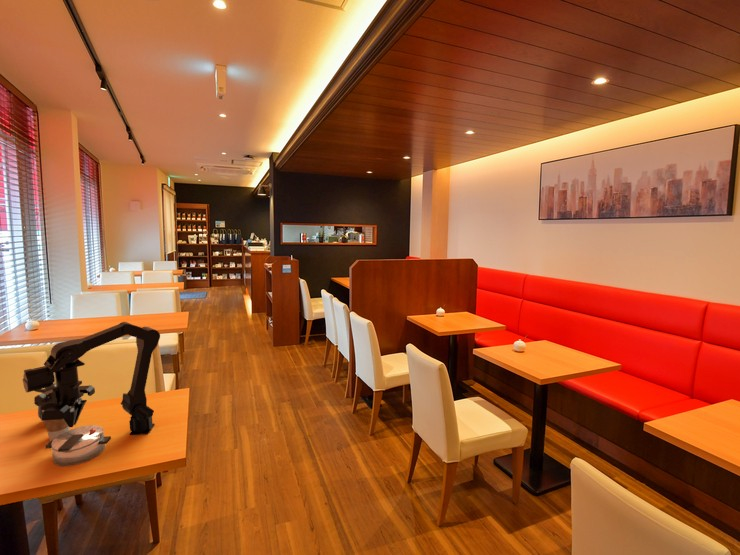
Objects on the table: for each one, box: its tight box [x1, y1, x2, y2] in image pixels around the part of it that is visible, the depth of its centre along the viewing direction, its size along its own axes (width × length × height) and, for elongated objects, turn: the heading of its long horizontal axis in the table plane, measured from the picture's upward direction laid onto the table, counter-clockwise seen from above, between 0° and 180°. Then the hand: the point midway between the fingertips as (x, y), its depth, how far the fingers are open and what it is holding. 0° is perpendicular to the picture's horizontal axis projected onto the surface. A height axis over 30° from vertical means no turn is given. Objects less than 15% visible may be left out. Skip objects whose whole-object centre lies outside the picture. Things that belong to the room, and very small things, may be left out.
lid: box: [51, 424, 105, 452], centre depth 128 cm, size 14×15×2 cm
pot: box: [44, 434, 112, 467], centre depth 129 cm, size 18×14×5 cm
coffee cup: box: [40, 402, 71, 441], centre depth 138 cm, size 8×8×15 cm
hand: (72, 425), depth 126 cm, fingers closed
